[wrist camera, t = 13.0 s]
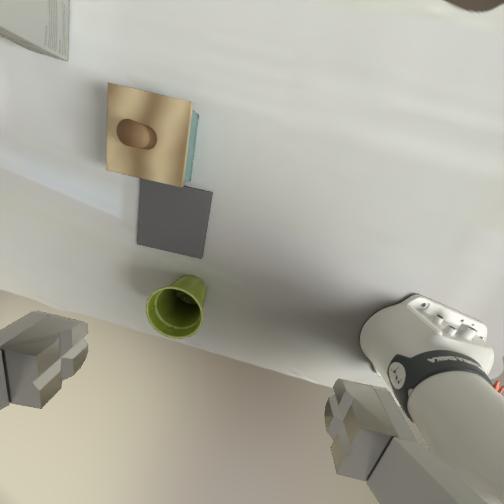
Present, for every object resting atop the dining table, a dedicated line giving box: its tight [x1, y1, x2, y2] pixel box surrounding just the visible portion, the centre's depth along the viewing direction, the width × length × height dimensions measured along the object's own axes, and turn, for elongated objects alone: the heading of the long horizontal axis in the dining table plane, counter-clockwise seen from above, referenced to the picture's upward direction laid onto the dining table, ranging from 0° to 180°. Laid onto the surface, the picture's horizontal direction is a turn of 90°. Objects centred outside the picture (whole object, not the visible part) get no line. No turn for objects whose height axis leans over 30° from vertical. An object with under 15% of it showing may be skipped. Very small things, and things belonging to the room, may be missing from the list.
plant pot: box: [146, 275, 206, 339], centre depth 43 cm, size 9×9×9 cm
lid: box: [106, 83, 193, 187], centre depth 31 cm, size 11×11×5 cm
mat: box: [137, 178, 213, 259], centre depth 42 cm, size 12×12×1 cm
